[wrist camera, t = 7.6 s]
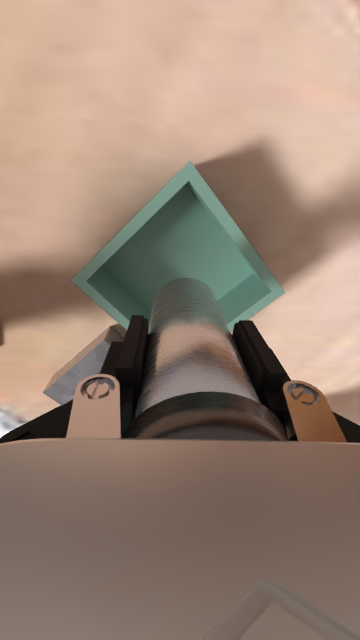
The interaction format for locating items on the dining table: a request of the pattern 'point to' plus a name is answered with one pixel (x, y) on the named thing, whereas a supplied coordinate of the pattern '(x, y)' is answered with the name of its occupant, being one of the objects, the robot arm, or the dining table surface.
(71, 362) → the socket block
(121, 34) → the dining table surface
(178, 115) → the dining table surface
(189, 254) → the bin
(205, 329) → the metal peg
